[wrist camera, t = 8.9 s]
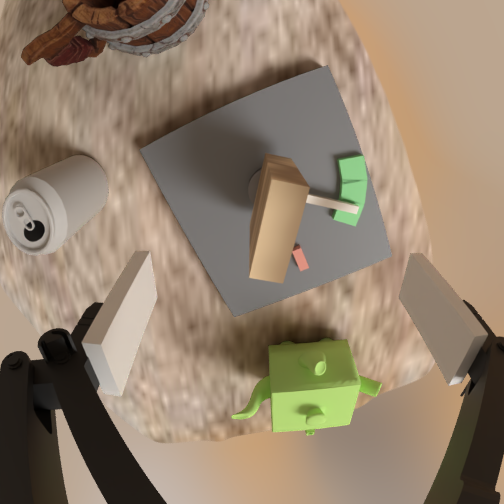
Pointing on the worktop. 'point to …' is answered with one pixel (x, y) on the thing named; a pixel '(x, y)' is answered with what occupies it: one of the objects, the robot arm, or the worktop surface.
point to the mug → (116, 29)
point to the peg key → (279, 215)
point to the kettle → (310, 386)
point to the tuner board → (250, 160)
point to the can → (54, 204)
